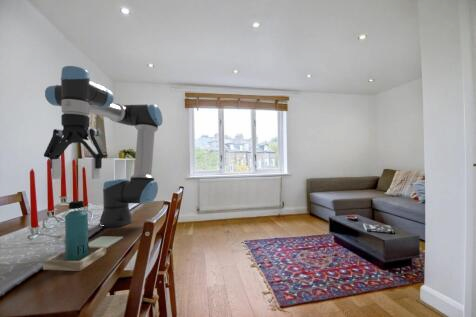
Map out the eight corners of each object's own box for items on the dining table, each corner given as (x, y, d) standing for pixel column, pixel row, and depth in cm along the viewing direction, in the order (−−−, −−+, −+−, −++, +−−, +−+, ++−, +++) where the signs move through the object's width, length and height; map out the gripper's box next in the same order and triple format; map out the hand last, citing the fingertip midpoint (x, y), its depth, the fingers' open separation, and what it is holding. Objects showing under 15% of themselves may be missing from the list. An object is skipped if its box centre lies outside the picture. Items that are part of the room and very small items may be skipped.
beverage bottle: (76, 266, 69) (75, 203, 69) (59, 264, 70) (58, 202, 70) (93, 257, 76) (93, 199, 75) (77, 255, 77) (77, 199, 77)
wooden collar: (74, 252, 79) (74, 245, 79) (106, 253, 79) (106, 246, 79) (43, 269, 67) (43, 261, 67) (80, 270, 67) (80, 262, 67)
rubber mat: (100, 237, 95) (100, 236, 95) (123, 237, 94) (123, 236, 94) (81, 247, 84) (81, 246, 84) (106, 248, 83) (106, 247, 83)
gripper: (29, 113, 70) (29, 179, 70) (104, 111, 68) (104, 179, 68) (50, 117, 77) (50, 177, 77) (118, 116, 76) (119, 177, 76)
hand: (76, 178), depth 73 cm, fingers open, 13 cm apart
